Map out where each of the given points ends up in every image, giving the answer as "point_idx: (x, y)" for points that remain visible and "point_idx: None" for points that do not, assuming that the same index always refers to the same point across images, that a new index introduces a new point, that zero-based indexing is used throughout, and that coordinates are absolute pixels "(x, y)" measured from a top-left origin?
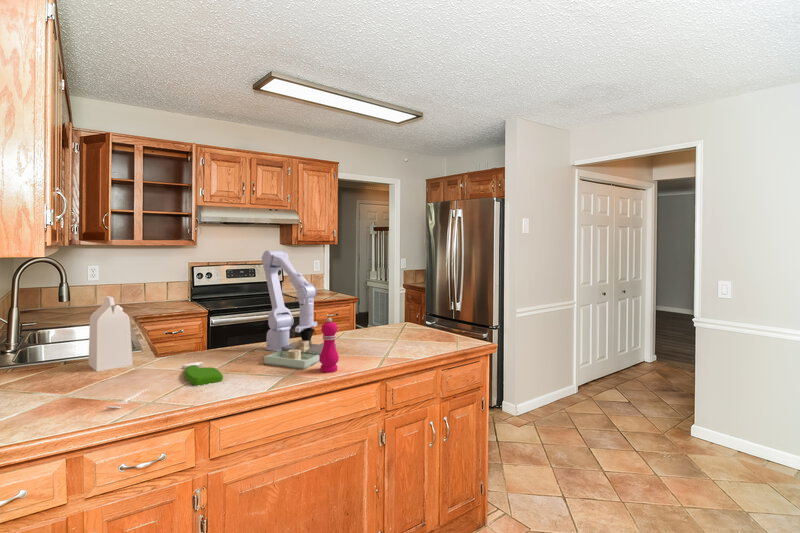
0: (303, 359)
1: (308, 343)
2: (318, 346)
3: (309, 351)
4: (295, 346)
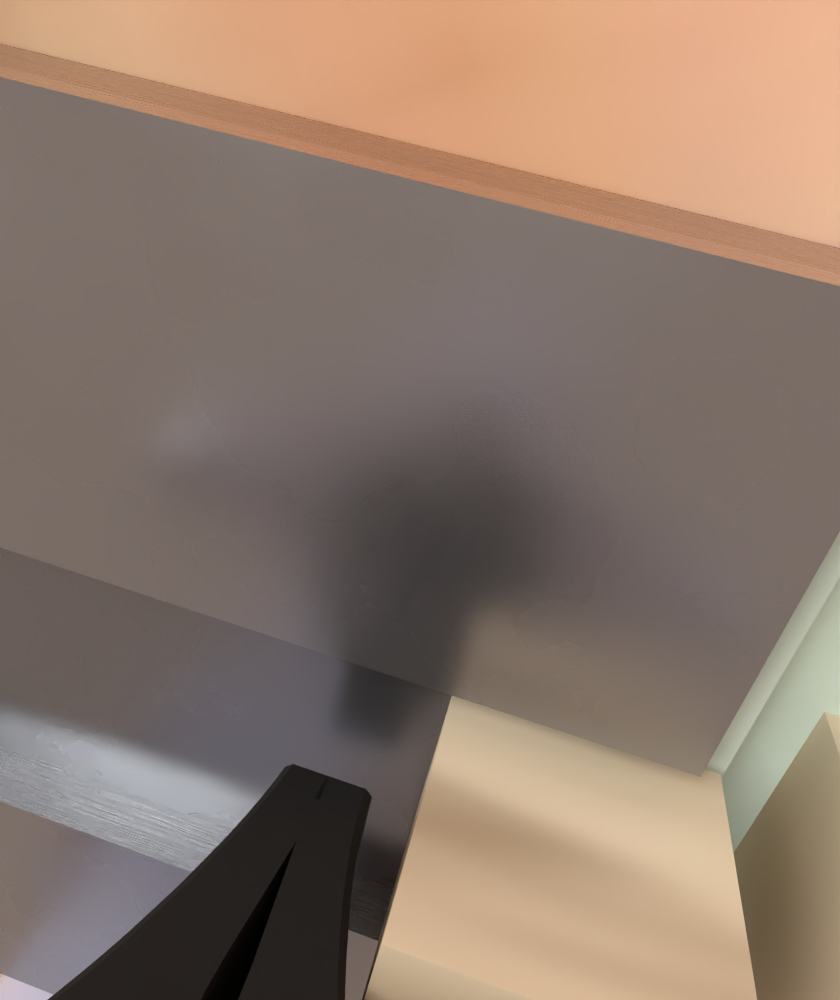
0: (789, 667)
1: (453, 880)
2: (188, 521)
3: (738, 676)
4: (363, 987)
